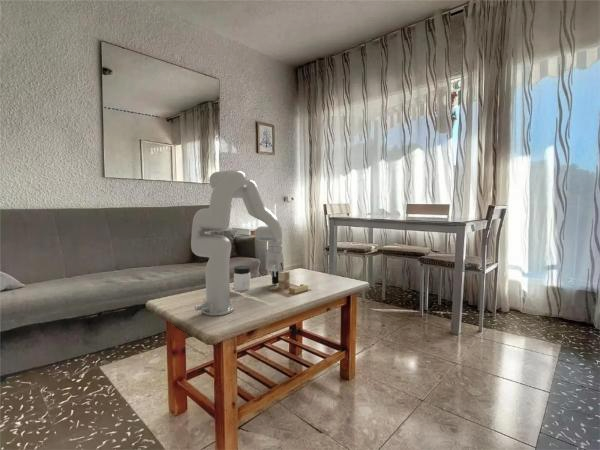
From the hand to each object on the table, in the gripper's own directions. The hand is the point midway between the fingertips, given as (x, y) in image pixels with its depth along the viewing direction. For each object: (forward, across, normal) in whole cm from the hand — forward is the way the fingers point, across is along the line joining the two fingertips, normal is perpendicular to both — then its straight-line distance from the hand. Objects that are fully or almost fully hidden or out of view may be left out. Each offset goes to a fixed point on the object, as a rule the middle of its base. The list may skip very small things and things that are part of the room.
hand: (275, 283), depth 165 cm
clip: (+1, +17, 0) cm, 17 cm away
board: (+2, +12, -2) cm, 13 cm away
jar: (+2, -7, -16) cm, 18 cm away
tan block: (+1, +7, 0) cm, 7 cm away
